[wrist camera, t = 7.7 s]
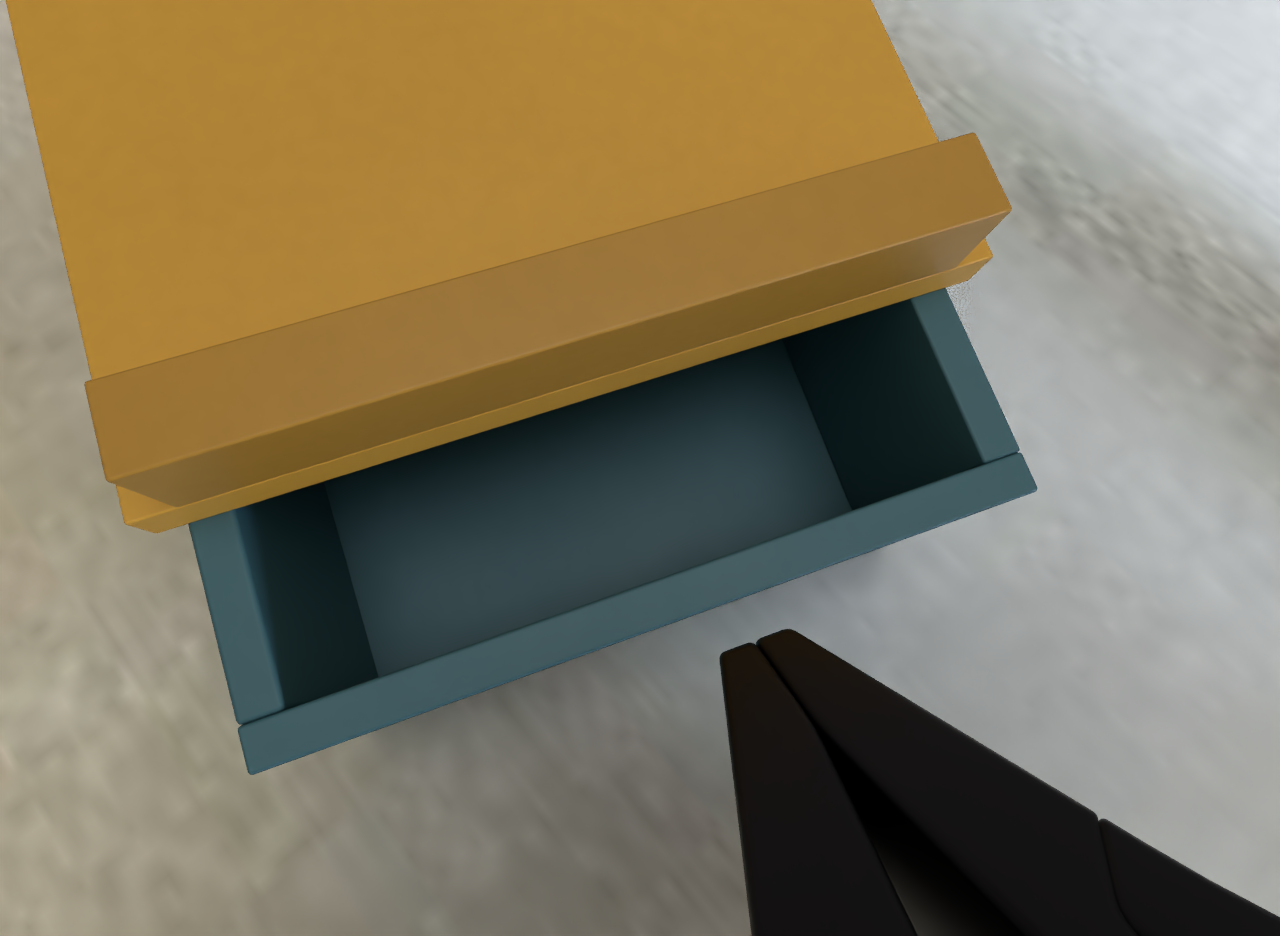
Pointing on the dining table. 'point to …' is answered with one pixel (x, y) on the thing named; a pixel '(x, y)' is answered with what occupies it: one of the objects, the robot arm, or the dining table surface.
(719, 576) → the storage bin
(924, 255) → the bin lid
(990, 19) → the dining table surface
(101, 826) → the dining table surface
